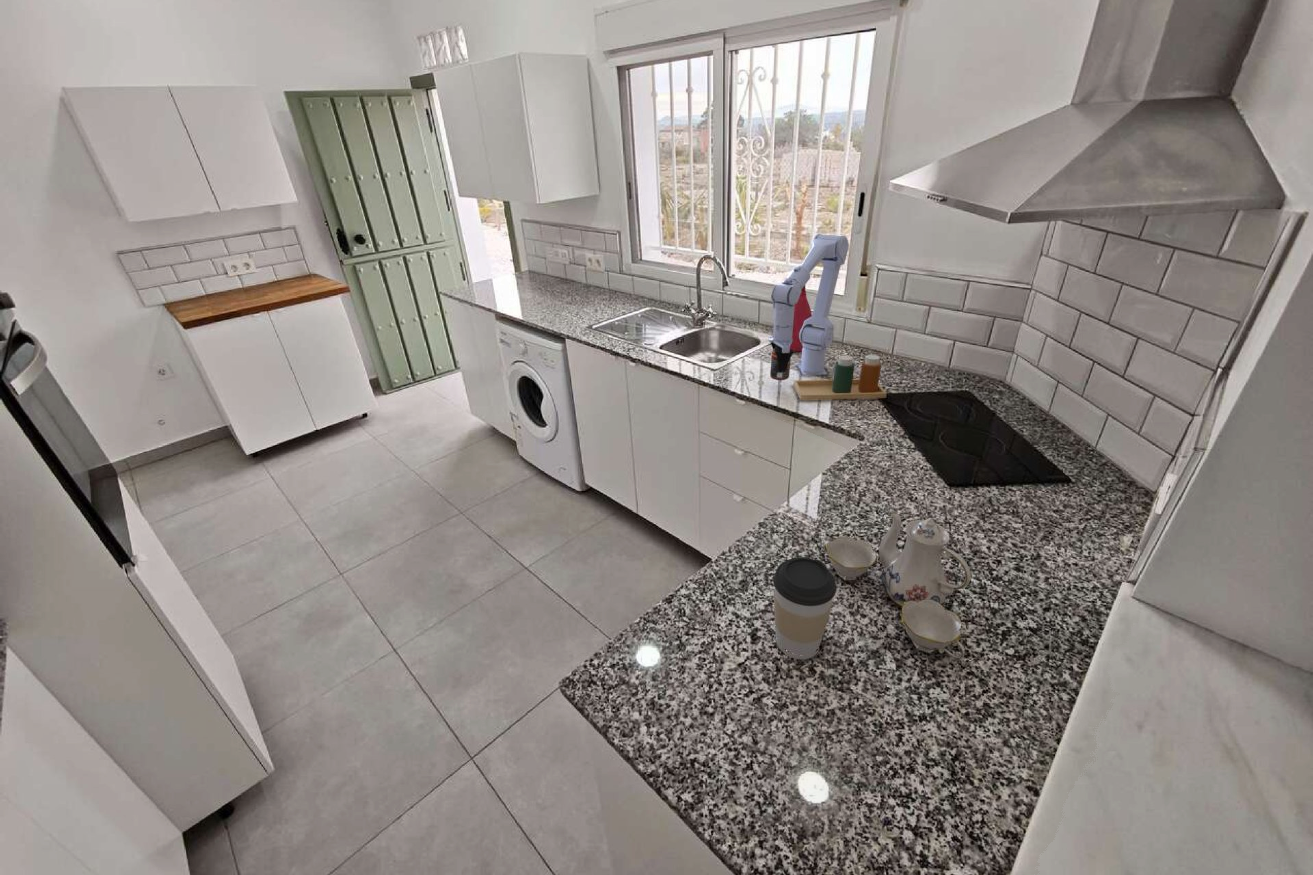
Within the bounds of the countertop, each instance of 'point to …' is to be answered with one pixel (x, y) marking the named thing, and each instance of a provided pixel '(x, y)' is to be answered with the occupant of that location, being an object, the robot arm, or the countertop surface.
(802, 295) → the wine bottle
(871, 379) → the amber bottle
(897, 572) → the chinaware
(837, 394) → the tray
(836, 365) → the dark green bottle
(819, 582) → the coffee cup
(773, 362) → the supplement bottle
